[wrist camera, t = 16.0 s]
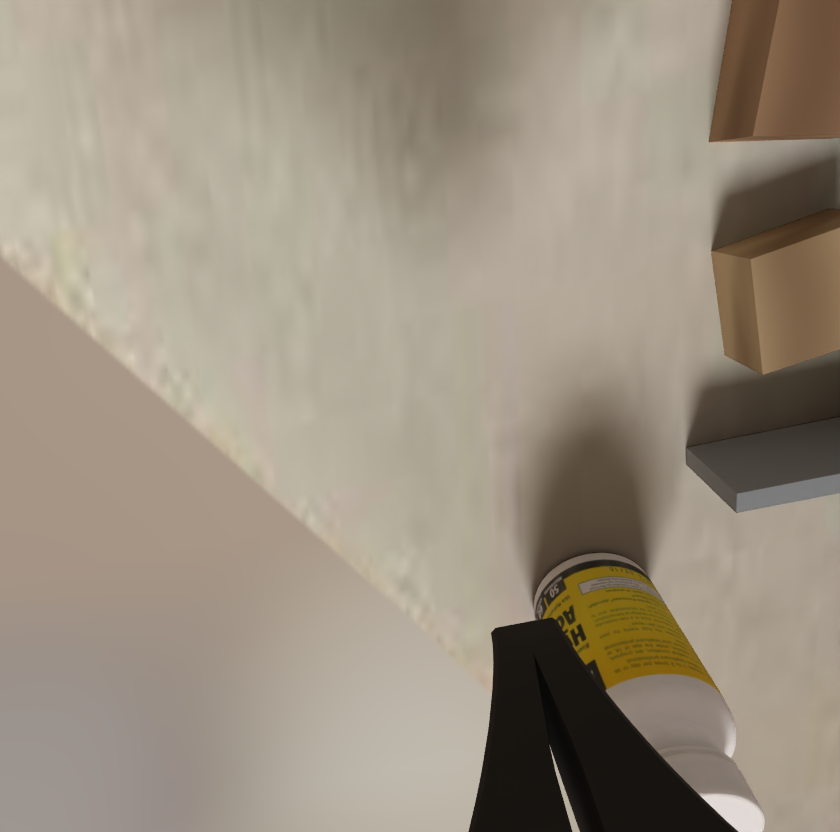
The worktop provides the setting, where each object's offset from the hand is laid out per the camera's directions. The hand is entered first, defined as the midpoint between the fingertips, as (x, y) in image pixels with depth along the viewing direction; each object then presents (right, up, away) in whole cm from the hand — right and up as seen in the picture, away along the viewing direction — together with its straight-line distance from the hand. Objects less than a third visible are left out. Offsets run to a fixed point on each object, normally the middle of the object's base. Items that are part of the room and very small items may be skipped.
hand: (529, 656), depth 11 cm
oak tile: (+10, +10, +8) cm, 16 cm away
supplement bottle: (+5, -3, +13) cm, 14 cm away
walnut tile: (+9, +16, +5) cm, 19 cm away
